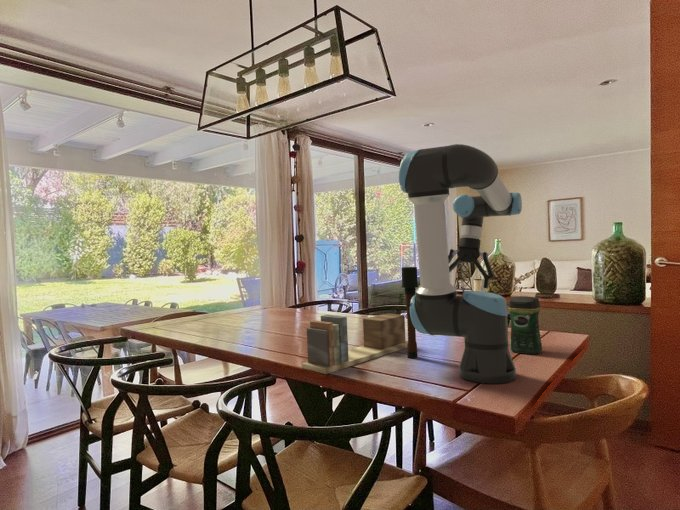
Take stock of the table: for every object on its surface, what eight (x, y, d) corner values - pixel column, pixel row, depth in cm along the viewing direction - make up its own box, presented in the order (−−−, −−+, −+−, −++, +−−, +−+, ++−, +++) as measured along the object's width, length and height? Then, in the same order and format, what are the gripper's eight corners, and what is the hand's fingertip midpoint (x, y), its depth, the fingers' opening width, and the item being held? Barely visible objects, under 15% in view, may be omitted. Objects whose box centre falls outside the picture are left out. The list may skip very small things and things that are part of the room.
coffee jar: (544, 350, 149) (542, 295, 148) (537, 356, 142) (535, 298, 142) (515, 347, 155) (513, 294, 154) (507, 352, 149) (505, 297, 148)
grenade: (423, 355, 149) (419, 266, 148) (418, 360, 144) (414, 267, 143) (407, 354, 151) (403, 266, 150) (401, 358, 146) (398, 267, 145)
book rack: (388, 341, 171) (387, 302, 171) (412, 345, 164) (410, 303, 163) (301, 368, 140) (299, 319, 140) (325, 374, 132) (323, 322, 132)
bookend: (388, 339, 169) (387, 313, 169) (405, 342, 163) (404, 315, 163) (364, 346, 159) (362, 318, 159) (381, 349, 153) (380, 321, 153)
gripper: (506, 242, 163) (500, 299, 162) (441, 237, 176) (434, 290, 176) (502, 239, 157) (495, 298, 156) (435, 234, 170) (428, 289, 169)
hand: (463, 294), depth 166 cm, fingers open, 13 cm apart
